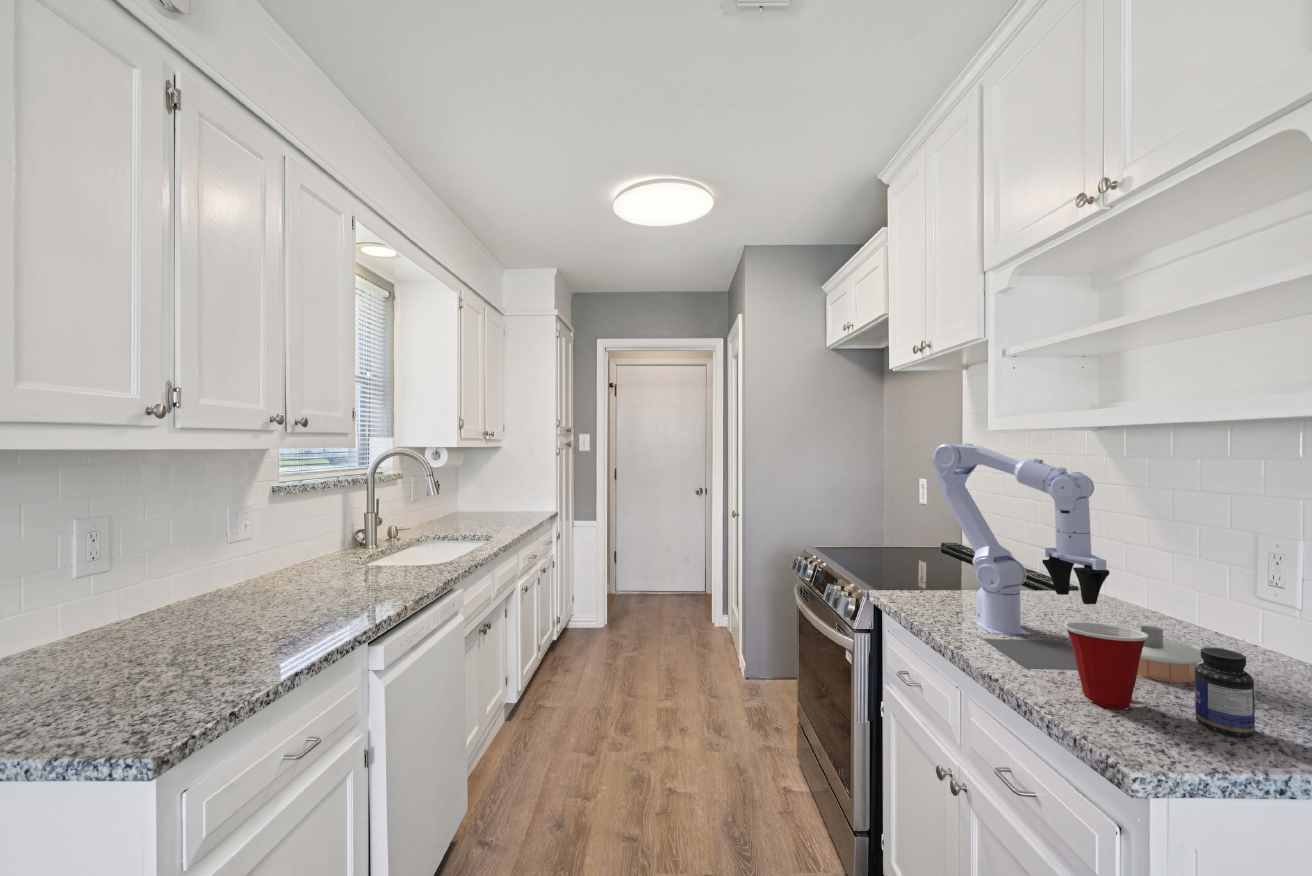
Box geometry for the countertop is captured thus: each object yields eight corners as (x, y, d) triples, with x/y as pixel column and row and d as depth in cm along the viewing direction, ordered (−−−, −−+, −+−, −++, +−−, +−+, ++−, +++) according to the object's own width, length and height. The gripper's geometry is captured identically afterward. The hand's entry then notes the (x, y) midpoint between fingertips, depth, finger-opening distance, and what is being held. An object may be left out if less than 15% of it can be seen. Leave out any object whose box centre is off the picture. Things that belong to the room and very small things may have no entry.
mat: (982, 641, 119) (982, 638, 119) (1061, 643, 118) (1061, 640, 118) (1025, 670, 103) (1025, 668, 103) (1117, 673, 102) (1117, 670, 102)
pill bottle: (1198, 714, 86) (1196, 642, 87) (1256, 728, 82) (1254, 653, 82) (1193, 727, 82) (1191, 652, 82) (1254, 743, 78) (1252, 664, 78)
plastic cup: (1127, 691, 95) (1126, 619, 95) (1166, 721, 84) (1164, 640, 85) (1053, 684, 98) (1052, 615, 98) (1082, 712, 87) (1080, 634, 87)
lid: (1089, 638, 109) (1089, 617, 109) (1158, 638, 109) (1158, 617, 109) (1144, 663, 96) (1144, 640, 96) (1223, 664, 96) (1223, 640, 96)
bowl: (1101, 660, 108) (1100, 639, 108) (1162, 661, 107) (1161, 640, 107) (1145, 683, 97) (1145, 660, 98) (1213, 685, 96) (1213, 662, 97)
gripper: (1030, 527, 122) (1032, 590, 121) (1078, 537, 107) (1081, 608, 107) (1063, 527, 121) (1065, 590, 121) (1116, 536, 107) (1119, 608, 106)
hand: (1075, 599), depth 114 cm, fingers open, 7 cm apart
